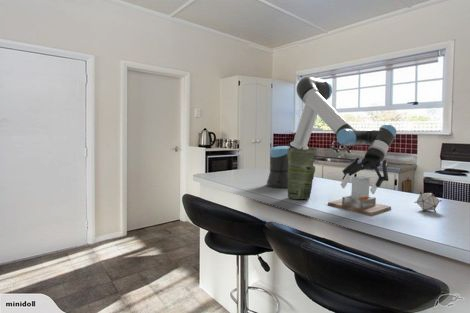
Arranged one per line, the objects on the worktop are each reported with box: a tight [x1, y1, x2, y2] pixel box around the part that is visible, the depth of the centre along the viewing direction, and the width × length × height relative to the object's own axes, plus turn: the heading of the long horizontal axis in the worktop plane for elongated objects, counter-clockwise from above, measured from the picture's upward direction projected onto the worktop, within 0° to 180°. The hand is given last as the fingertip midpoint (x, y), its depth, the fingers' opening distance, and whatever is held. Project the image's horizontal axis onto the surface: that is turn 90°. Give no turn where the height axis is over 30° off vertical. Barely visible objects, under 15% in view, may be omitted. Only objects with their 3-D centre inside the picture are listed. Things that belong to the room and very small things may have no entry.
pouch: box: [287, 147, 318, 200], centre depth 141 cm, size 11×12×25 cm
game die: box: [413, 191, 443, 213], centre depth 120 cm, size 9×8×10 cm
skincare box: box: [350, 175, 371, 201], centre depth 125 cm, size 6×4×12 cm
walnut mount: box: [327, 194, 392, 216], centre depth 126 cm, size 20×16×4 cm
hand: (356, 189), depth 124 cm, fingers open, 13 cm apart
